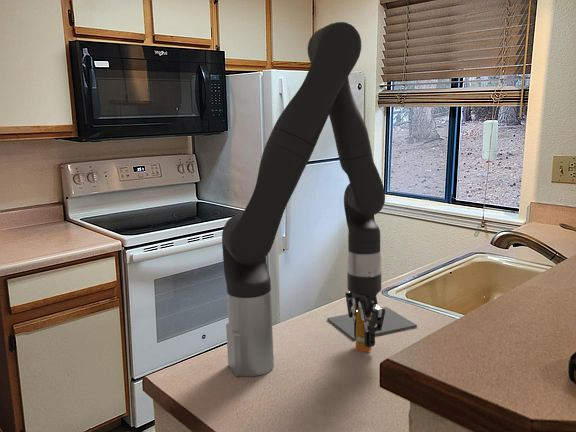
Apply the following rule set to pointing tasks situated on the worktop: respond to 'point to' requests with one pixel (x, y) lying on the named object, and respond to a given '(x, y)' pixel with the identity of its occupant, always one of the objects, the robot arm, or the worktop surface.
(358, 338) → the supplement box
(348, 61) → the robot arm
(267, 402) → the worktop surface
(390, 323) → the mat
